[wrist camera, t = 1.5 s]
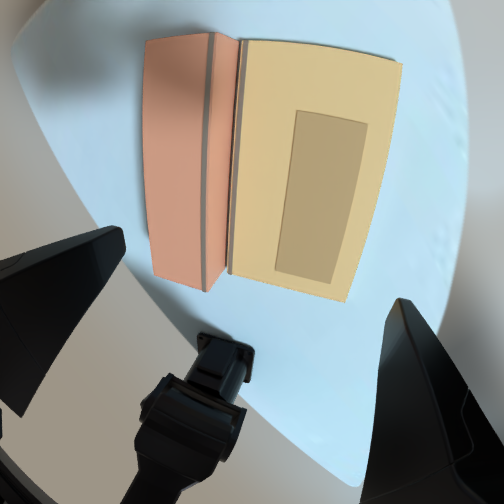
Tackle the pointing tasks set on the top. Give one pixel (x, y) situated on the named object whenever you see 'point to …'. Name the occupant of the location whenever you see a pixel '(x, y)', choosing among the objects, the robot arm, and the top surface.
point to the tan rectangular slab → (307, 163)
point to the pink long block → (188, 153)
